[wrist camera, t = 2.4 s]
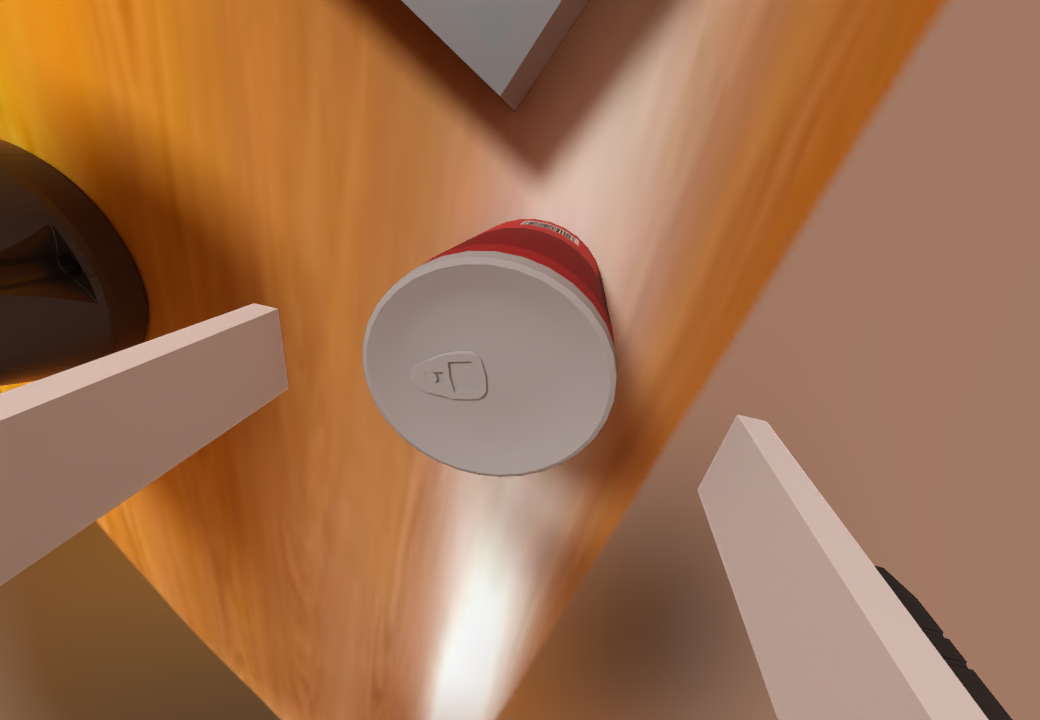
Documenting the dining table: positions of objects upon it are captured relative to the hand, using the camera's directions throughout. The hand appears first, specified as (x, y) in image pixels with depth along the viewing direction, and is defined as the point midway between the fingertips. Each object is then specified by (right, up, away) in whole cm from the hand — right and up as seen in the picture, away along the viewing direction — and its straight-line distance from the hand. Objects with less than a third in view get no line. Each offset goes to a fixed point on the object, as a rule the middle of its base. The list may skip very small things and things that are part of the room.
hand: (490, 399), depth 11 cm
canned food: (+1, +5, +10) cm, 12 cm away
